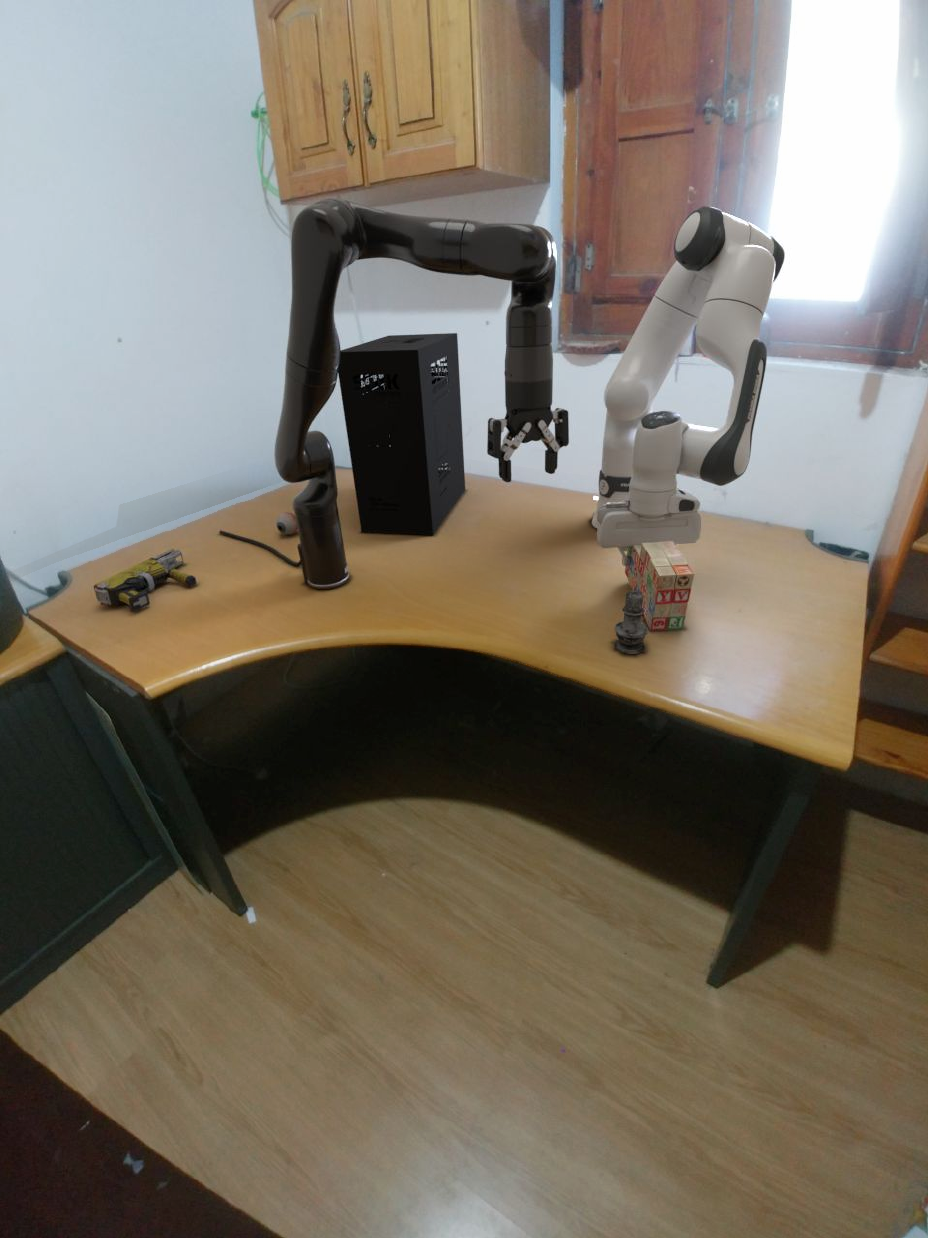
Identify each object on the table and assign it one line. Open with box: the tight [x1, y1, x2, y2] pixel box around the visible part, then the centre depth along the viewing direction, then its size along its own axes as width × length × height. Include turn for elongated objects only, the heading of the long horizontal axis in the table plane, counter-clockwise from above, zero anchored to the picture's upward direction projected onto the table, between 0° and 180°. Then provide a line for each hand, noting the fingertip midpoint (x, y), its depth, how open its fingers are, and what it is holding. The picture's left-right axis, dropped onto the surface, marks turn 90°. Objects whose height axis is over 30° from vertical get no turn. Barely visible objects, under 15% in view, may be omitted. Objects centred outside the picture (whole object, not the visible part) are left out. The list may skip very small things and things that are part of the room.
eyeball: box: [275, 511, 298, 536], centre depth 163 cm, size 6×6×6 cm
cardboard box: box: [338, 332, 466, 536], centre depth 166 cm, size 38×20×45 cm, turn 167°
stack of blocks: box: [624, 541, 695, 632], centre depth 118 cm, size 21×6×12 cm, turn 1°
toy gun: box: [93, 548, 197, 612], centre depth 139 cm, size 5×24×15 cm
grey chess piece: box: [613, 586, 649, 655], centre depth 105 cm, size 6×6×12 cm
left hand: (528, 476), depth 103 cm, fingers open, 8 cm apart
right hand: (644, 563), depth 125 cm, fingers closed on stack of blocks, 6 cm apart
